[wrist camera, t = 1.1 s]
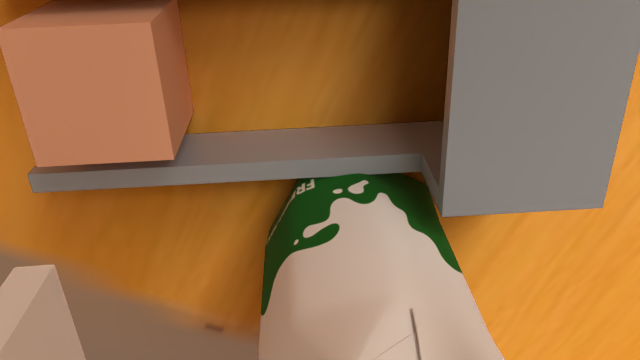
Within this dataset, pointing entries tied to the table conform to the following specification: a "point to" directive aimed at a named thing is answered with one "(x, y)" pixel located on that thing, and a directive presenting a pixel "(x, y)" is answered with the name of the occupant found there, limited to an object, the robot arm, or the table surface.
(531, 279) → the table surface
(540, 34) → the chute
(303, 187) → the milk carton
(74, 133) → the block
